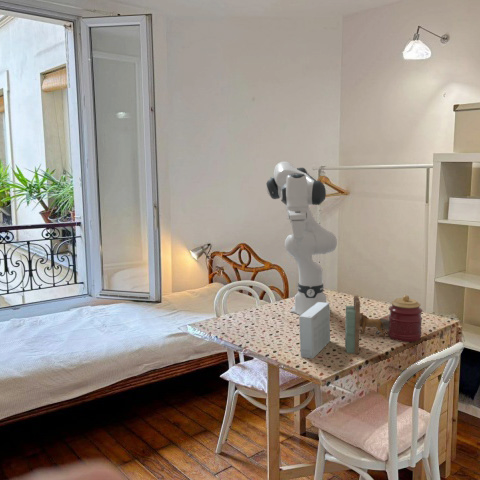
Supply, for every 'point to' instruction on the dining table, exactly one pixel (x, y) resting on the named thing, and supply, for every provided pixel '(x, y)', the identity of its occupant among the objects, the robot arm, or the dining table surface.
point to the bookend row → (352, 327)
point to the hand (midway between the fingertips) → (299, 248)
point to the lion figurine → (371, 324)
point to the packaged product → (385, 322)
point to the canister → (405, 320)
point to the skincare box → (314, 329)
